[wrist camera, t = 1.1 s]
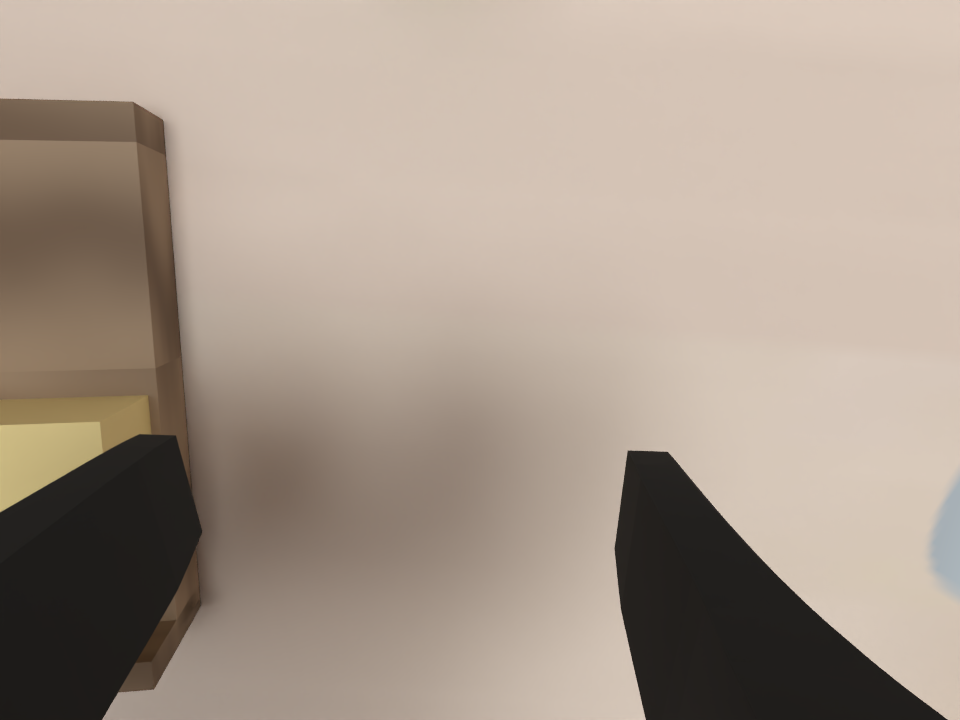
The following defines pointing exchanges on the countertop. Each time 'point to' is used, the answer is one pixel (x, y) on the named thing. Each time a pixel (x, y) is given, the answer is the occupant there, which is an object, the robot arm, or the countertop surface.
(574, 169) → the countertop surface
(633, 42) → the countertop surface
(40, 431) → the block
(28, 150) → the trap board
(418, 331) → the countertop surface
